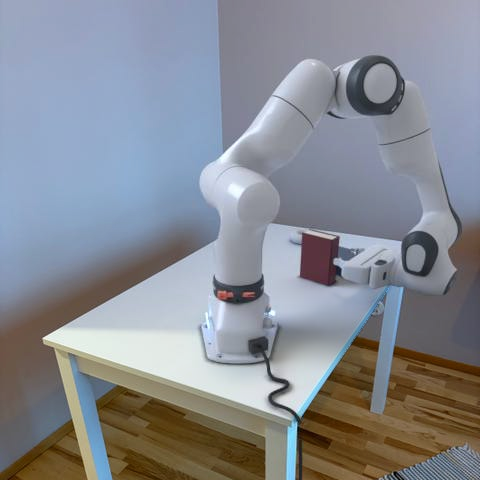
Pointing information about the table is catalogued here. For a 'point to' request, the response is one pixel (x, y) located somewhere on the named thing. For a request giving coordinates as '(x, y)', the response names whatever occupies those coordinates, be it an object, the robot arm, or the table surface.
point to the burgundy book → (319, 256)
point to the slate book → (344, 257)
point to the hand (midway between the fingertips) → (343, 255)
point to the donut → (297, 235)
